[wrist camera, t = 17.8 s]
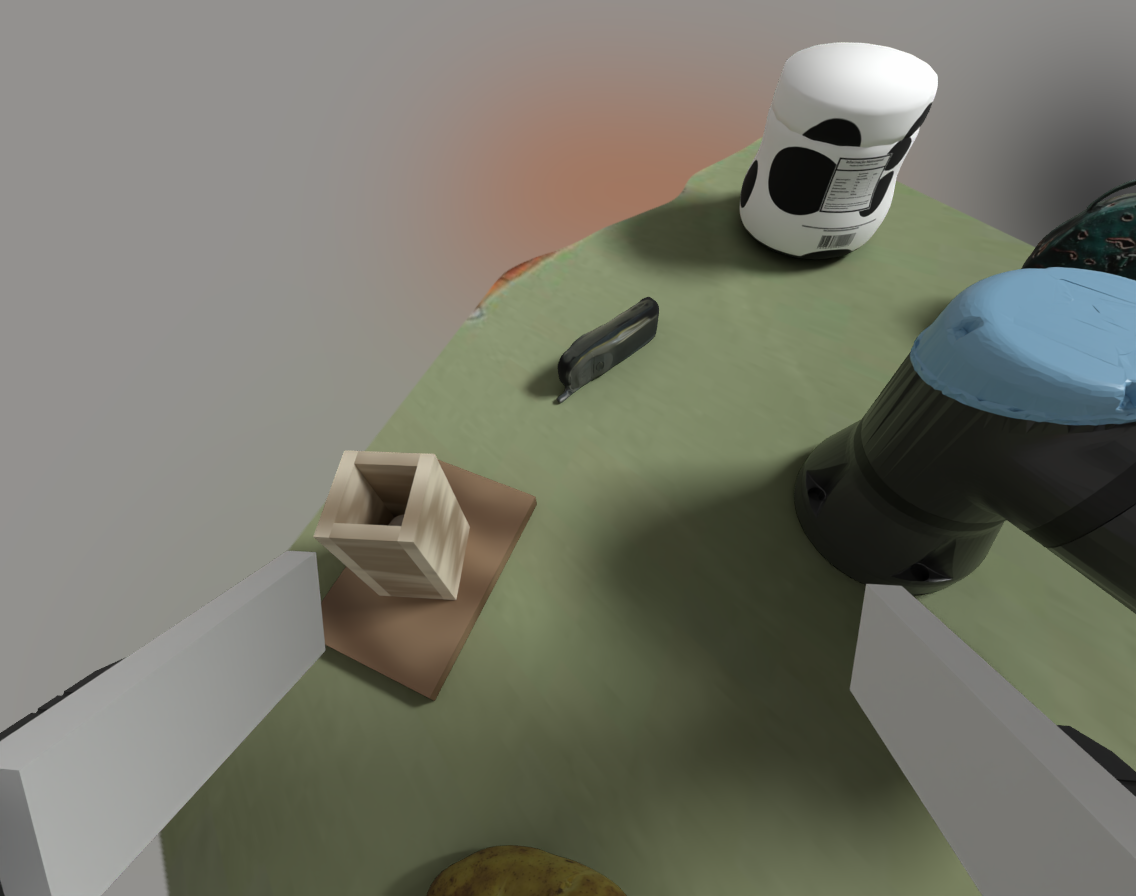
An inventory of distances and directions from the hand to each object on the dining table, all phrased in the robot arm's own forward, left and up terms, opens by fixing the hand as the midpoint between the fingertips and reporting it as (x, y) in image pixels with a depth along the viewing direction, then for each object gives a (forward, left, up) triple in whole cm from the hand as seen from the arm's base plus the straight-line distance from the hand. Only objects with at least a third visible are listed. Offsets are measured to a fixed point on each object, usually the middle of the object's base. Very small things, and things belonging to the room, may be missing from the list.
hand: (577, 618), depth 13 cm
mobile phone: (-26, -25, -31) cm, 47 cm away
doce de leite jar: (-60, -24, -31) cm, 72 cm away
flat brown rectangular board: (+2, -18, -30) cm, 36 cm away
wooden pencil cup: (+2, -18, -29) cm, 34 cm away
